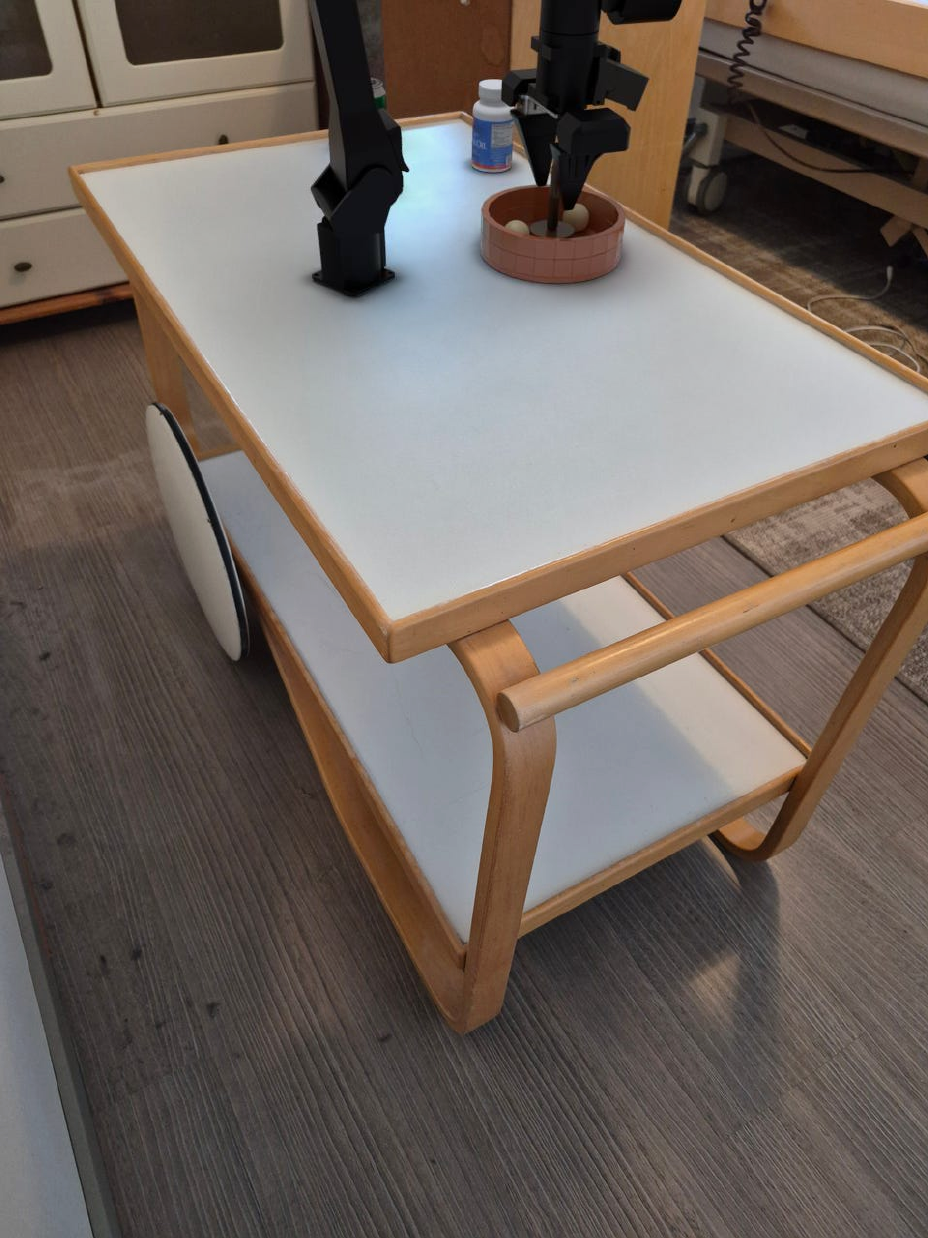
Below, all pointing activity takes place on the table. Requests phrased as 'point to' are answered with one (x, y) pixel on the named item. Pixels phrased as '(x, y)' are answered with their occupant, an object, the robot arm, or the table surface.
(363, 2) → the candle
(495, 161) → the pill bottle
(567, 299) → the table surface
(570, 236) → the brown peg stand
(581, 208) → the dumpling
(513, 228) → the dumpling
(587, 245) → the bowl
